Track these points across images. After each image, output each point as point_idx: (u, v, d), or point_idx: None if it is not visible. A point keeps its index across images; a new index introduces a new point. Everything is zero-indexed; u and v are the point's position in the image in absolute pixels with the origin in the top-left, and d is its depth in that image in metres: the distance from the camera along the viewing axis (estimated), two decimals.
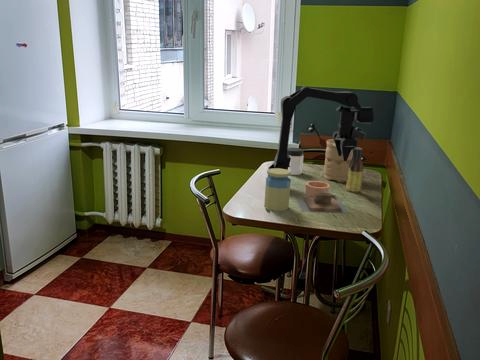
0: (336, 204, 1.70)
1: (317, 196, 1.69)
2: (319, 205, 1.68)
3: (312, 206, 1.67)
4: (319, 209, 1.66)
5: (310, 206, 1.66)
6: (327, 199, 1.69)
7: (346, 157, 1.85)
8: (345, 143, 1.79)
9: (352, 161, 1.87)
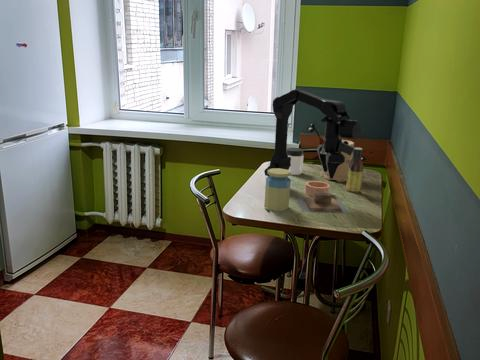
0: (336, 204, 1.70)
1: (317, 196, 1.69)
2: (319, 205, 1.68)
3: (312, 206, 1.67)
4: (319, 209, 1.66)
5: (310, 206, 1.66)
6: (327, 199, 1.69)
7: (332, 174, 1.66)
8: (331, 159, 1.60)
9: (352, 161, 1.87)
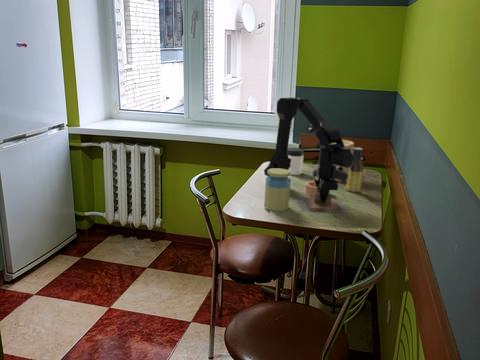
0: (336, 204, 1.70)
1: (317, 196, 1.69)
2: (319, 205, 1.68)
3: (312, 206, 1.67)
4: (319, 209, 1.66)
5: (310, 206, 1.66)
6: (327, 199, 1.69)
7: (324, 198, 1.68)
8: (324, 186, 1.60)
9: None
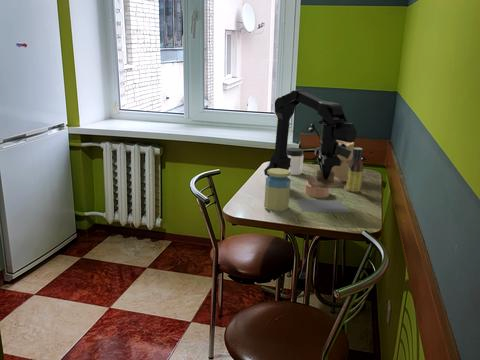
0: (339, 182, 1.67)
1: (320, 173, 1.66)
2: (322, 183, 1.65)
3: (314, 183, 1.64)
4: (322, 186, 1.63)
5: (313, 183, 1.64)
6: (330, 176, 1.67)
7: (327, 175, 1.66)
8: (327, 162, 1.57)
9: (352, 161, 1.87)
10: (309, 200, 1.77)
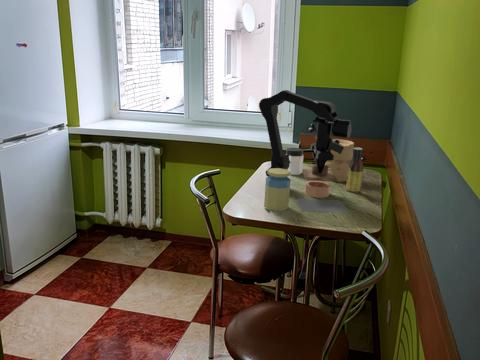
0: (332, 175, 1.80)
1: (314, 167, 1.79)
2: (316, 176, 1.78)
3: (309, 176, 1.77)
4: (316, 179, 1.76)
5: (308, 176, 1.77)
6: (324, 170, 1.80)
7: (321, 169, 1.79)
8: (320, 157, 1.70)
9: (352, 161, 1.87)
10: (309, 200, 1.77)
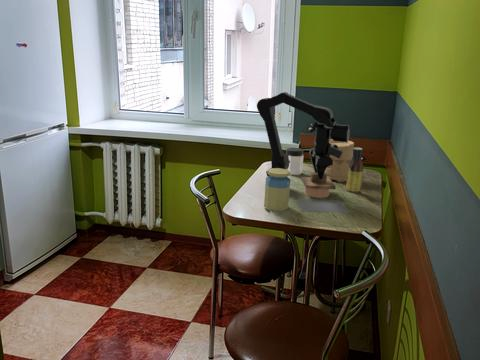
0: (331, 183, 1.83)
1: (313, 175, 1.82)
2: (315, 184, 1.81)
3: (309, 184, 1.80)
4: (315, 187, 1.79)
5: (307, 184, 1.80)
6: (322, 178, 1.83)
7: (321, 175, 1.79)
8: (320, 162, 1.73)
9: (352, 161, 1.87)
10: (309, 200, 1.77)
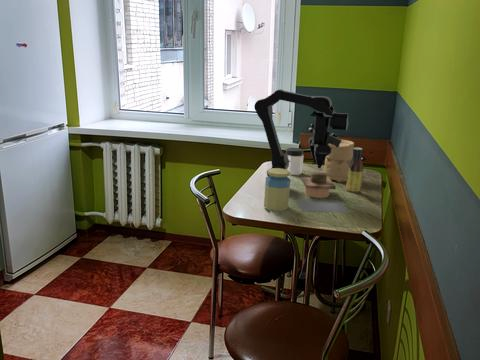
0: (331, 183, 1.83)
1: (313, 175, 1.82)
2: (315, 184, 1.81)
3: (309, 184, 1.80)
4: (315, 187, 1.79)
5: (307, 184, 1.80)
6: (322, 178, 1.83)
7: (320, 164, 1.79)
8: (318, 150, 1.73)
9: (352, 161, 1.87)
10: (309, 200, 1.77)
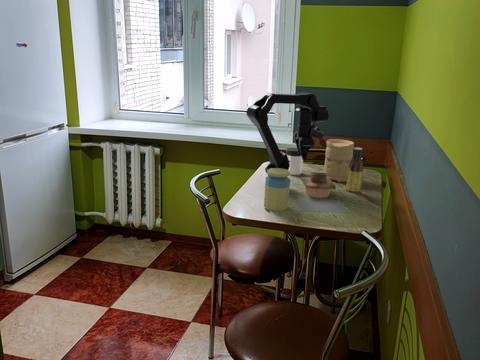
0: (331, 183, 1.83)
1: (313, 175, 1.82)
2: (315, 184, 1.81)
3: (309, 184, 1.80)
4: (315, 187, 1.79)
5: (307, 184, 1.80)
6: (322, 178, 1.83)
7: (304, 156, 1.90)
8: (302, 142, 1.84)
9: (352, 161, 1.87)
10: (309, 200, 1.77)
